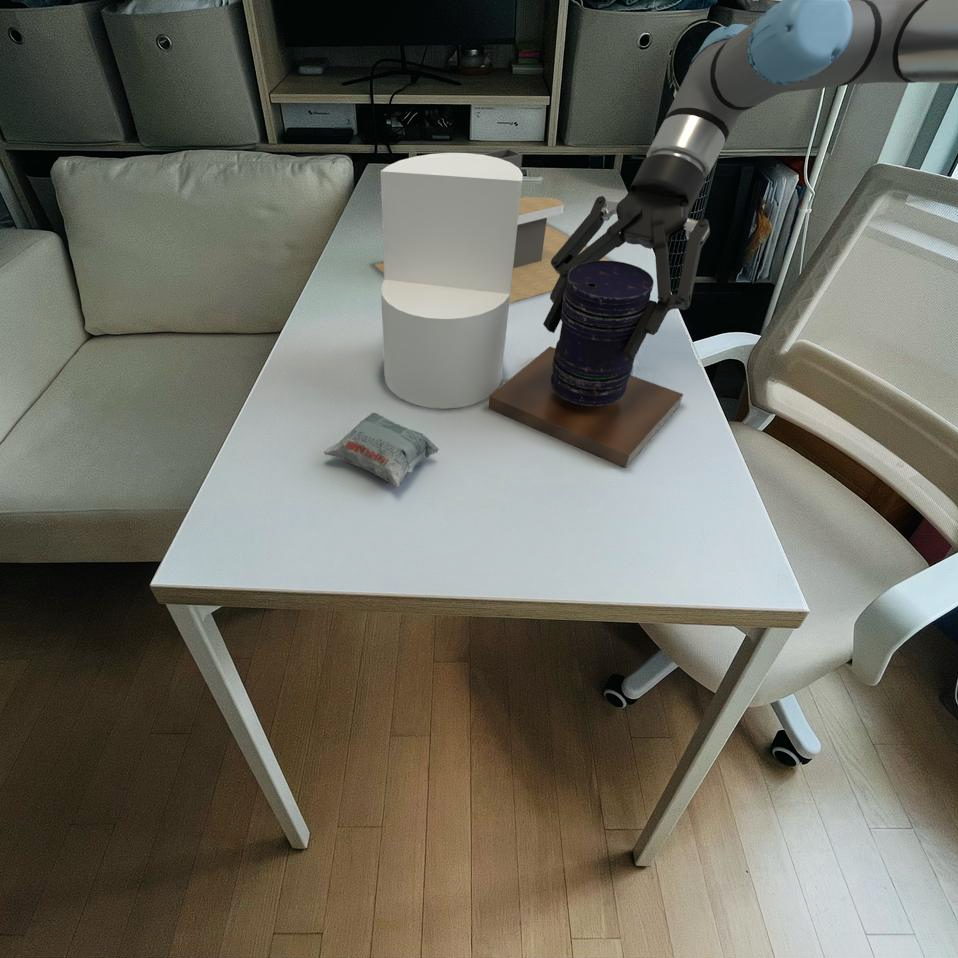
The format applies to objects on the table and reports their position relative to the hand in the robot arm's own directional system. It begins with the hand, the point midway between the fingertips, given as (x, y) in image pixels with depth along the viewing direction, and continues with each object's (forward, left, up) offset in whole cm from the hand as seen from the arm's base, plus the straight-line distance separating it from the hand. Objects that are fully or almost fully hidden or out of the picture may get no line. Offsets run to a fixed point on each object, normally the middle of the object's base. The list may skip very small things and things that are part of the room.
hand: (587, 341), depth 80 cm
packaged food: (+14, +23, -12) cm, 29 cm away
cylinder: (+20, +2, -12) cm, 23 cm away
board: (0, -3, -12) cm, 12 cm away
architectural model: (+33, -32, -12) cm, 48 cm away
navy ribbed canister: (0, -3, -8) cm, 9 cm away
